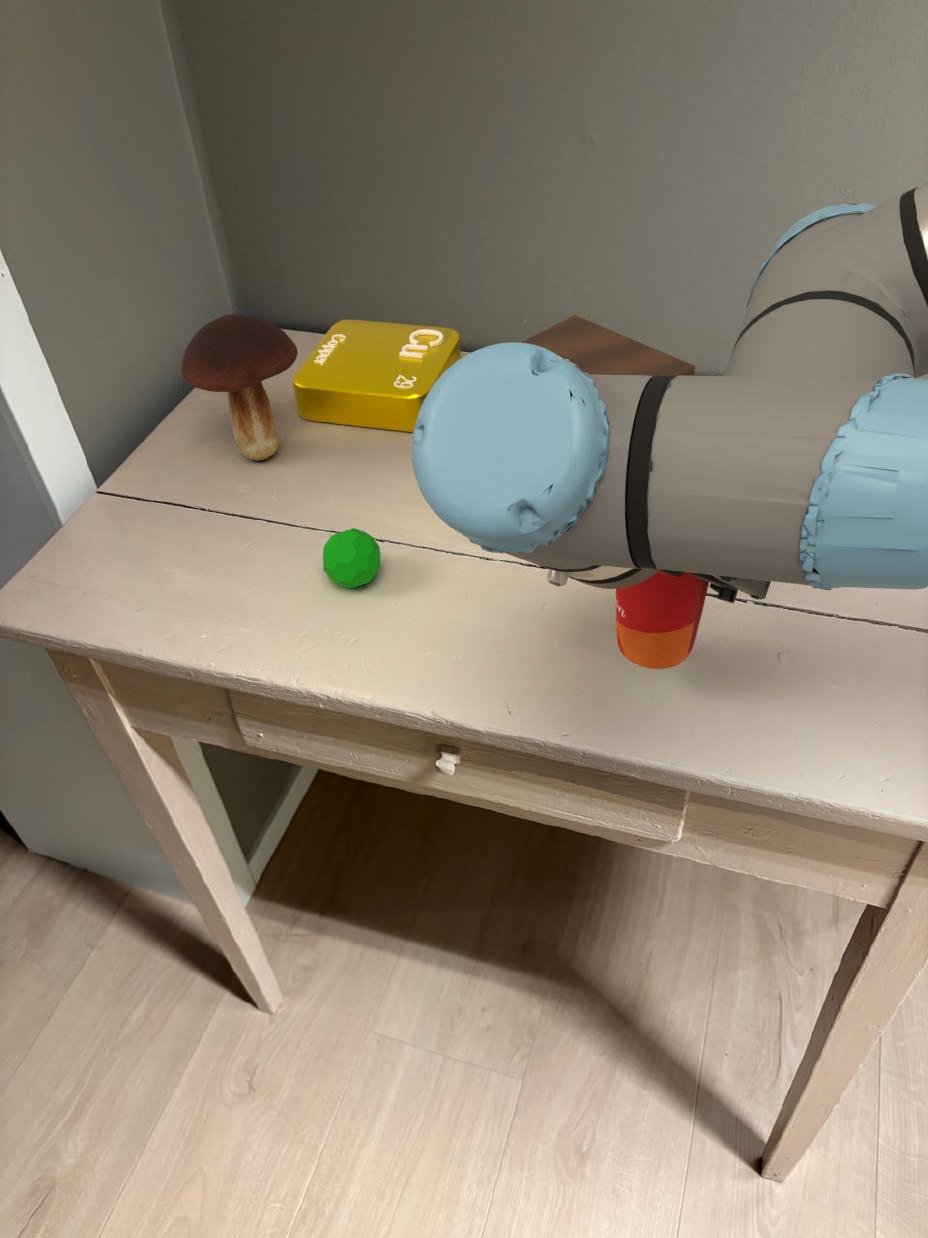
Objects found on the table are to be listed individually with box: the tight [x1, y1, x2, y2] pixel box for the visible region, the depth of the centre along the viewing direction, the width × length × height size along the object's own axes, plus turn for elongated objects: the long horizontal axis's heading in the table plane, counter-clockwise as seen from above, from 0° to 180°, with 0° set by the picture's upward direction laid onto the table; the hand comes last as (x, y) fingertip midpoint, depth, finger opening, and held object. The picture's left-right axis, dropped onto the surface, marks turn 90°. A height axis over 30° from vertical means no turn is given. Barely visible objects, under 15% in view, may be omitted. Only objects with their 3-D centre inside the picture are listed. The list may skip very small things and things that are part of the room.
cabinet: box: [520, 314, 696, 376], centre depth 91 cm, size 15×14×10 cm
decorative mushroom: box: [180, 313, 299, 462], centre depth 92 cm, size 11×11×15 cm
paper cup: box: [615, 572, 710, 670], centre depth 66 cm, size 8×8×14 cm
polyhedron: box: [322, 527, 381, 589], centre depth 81 cm, size 5×5×5 cm
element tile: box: [292, 319, 462, 433], centre depth 103 cm, size 15×15×5 cm
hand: (676, 562), depth 69 cm, fingers closed on paper cup, 8 cm apart
